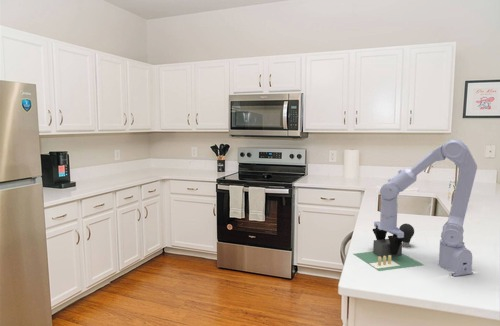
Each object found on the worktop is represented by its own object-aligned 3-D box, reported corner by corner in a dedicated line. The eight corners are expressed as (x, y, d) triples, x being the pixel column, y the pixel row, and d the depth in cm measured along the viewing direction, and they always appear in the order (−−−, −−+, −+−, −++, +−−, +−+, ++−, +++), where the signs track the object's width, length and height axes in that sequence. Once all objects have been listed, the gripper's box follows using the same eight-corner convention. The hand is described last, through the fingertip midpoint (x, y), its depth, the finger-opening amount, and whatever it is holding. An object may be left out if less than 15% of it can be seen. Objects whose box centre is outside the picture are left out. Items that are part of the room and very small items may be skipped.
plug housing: (401, 255, 128) (402, 242, 127) (381, 258, 126) (381, 244, 125) (392, 250, 133) (393, 238, 132) (373, 253, 130) (373, 240, 130)
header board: (424, 267, 119) (424, 256, 119) (378, 273, 115) (379, 262, 114) (393, 251, 135) (394, 241, 134) (352, 256, 130) (353, 246, 130)
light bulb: (409, 245, 141) (410, 221, 140) (416, 250, 136) (417, 225, 134) (395, 245, 141) (396, 222, 140) (402, 250, 135) (403, 225, 134)
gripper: (367, 211, 133) (366, 245, 135) (392, 221, 119) (390, 259, 121) (383, 209, 135) (382, 243, 137) (409, 219, 121) (407, 256, 123)
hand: (387, 250), depth 129 cm, fingers open, 7 cm apart
